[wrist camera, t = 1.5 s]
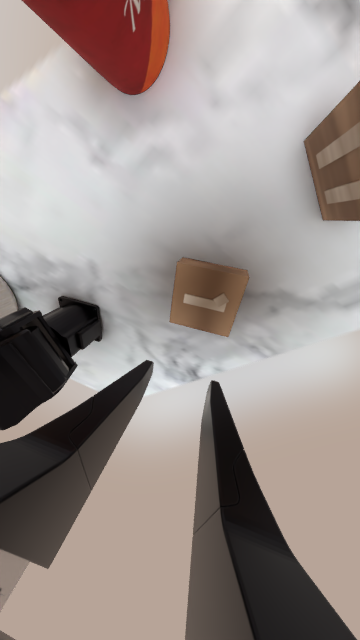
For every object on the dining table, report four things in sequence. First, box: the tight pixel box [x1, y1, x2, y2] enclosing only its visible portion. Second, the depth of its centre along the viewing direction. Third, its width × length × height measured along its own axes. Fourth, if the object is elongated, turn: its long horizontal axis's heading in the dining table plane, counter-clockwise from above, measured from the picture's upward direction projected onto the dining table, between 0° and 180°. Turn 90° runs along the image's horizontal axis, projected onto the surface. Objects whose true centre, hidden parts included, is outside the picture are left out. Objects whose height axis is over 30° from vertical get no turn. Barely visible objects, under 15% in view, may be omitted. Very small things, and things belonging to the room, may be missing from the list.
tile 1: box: [169, 257, 249, 337], centre depth 20 cm, size 7×7×3 cm
